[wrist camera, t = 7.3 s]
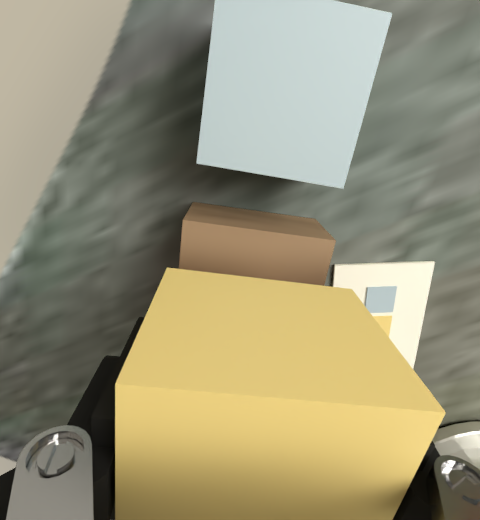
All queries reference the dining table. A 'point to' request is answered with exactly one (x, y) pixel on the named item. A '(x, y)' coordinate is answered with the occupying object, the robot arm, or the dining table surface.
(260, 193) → the dining table surface
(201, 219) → the base brick
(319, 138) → the bluegrey brick
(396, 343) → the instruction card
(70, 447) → the robot arm
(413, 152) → the dining table surface
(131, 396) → the mustard brick
